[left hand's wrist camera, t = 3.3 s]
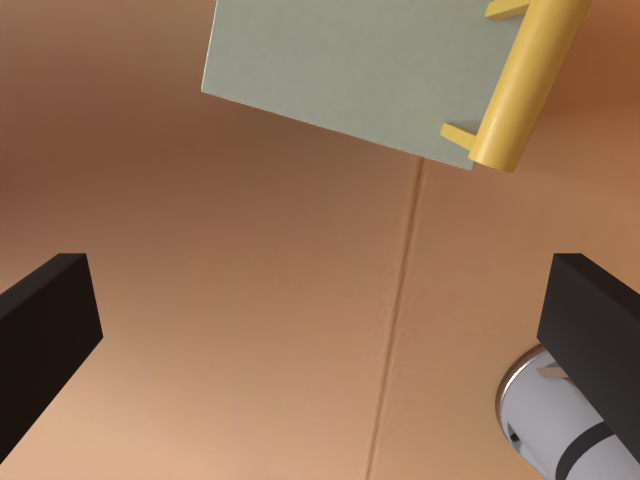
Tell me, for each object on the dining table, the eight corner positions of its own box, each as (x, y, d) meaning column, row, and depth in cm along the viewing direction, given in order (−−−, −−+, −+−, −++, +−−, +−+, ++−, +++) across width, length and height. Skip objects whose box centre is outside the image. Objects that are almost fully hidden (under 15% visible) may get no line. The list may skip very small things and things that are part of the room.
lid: (537, -9, 22) (667, -55, 14) (465, 167, 26) (536, 215, 17) (242, -110, 21) (191, -231, 12) (205, 90, 24) (144, 102, 16)
